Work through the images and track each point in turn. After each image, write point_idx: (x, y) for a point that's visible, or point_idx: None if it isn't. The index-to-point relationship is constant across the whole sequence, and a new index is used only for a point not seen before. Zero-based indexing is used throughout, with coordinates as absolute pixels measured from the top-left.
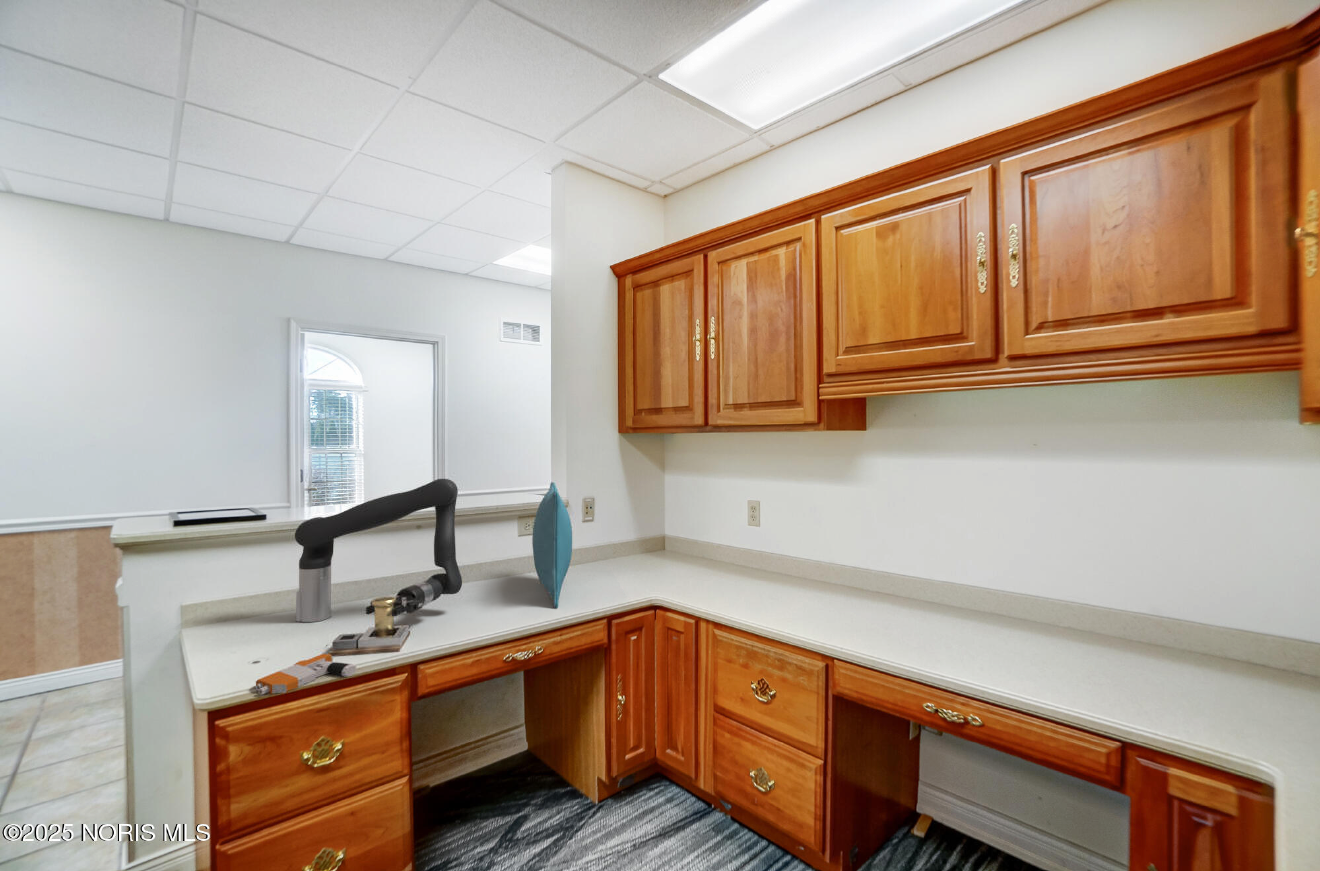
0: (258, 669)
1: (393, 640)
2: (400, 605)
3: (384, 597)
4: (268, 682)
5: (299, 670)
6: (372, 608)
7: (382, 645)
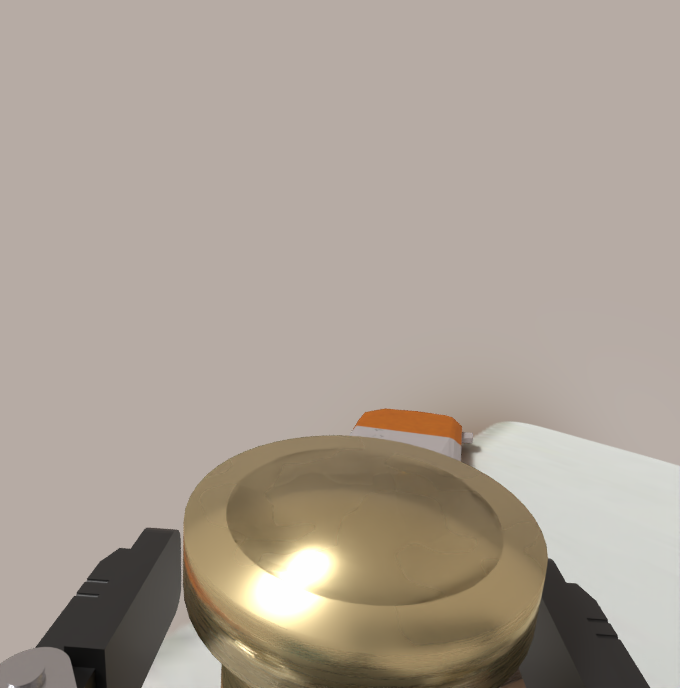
0: (628, 514)
1: None
2: (96, 644)
3: (449, 582)
4: (407, 412)
5: (389, 439)
6: (540, 645)
7: None
